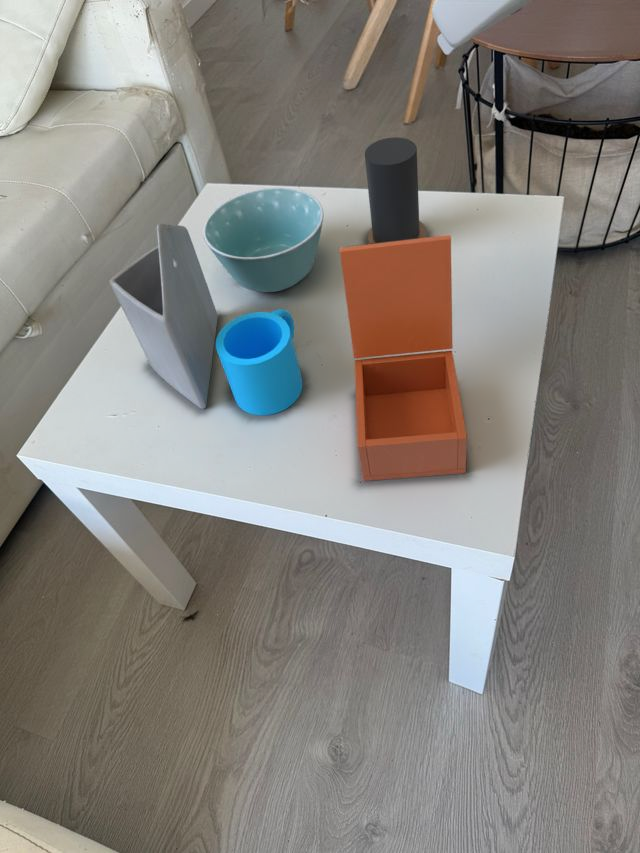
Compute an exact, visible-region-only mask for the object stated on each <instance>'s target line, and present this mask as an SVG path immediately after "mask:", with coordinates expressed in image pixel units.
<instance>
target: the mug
mask: <svg viewBox="0 0 640 853" xmlns="http://www.w3.org/2000/svg"><path fill="white" fill-rule="evenodd" d="M294 334H295V322H294V318H293V316H292V313H291V312H289V311H288V310H287V309H285V308H280V309H274V310H272V311H271V312H266V311H256V312H250V313H249V312H248V313H245V314H242V315H239V316H237V317H235V318H234V319H232V320H230V321H229V322H227V323H225V325H224V326H223V327H222V328H221V329H220V331H219V332H218V335H217V336H216V337H215V349H216V352H217V354H218V358H219V360H220V364H221V365H222V366H221V367H222V369H223V371H224V374H225V376H226V379H227V381H228V385H229V387H230V390H231V392H232V396H233V398H234V401H235V402H236V403H235V404H236V406H238V407H239V408H240V409H241V410H242V411H243V412H246V413H248V414H250V415H254V416H262V417H263V416H269V415H275V414H278V413H280V412H283V411H286V410H287V409H288V408H290V407H291V406H292V405H294V404H295V402H297V400H298V399H299V397H300V396H301V394H302V391H303V388H304V387H303V378H302V373H301V370H300V365H299V361H298V357H297V353H296V349H295V345H294V337H295V335H294Z"/></svg>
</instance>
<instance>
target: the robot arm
mask: <svg viewBox="0 0 640 853" xmlns="http://www.w3.org/2000/svg"><path fill="white" fill-rule="evenodd" d="M533 1H534V0H435V1H433V4H432V8H431V16H432V19H433V21H434V23H435V25H436V27H437V28H438V30H439V32H440V33H439V35H438V36H437V39H436V40H437V44H438V46H439V47H440V49H441V51H442V52H443V54H445V55H446V56H449V55H450V54H452V53H454V52H455V51H457V50H458V49H460V47H461V46H462V45H464V44H466V43H467V42H468V41H470V40H472V39H474V38H475V37H476V36H478V35H480V34H481V33H483V32H484V31H486V30H488V29H489V28H491V27H493V26H494V25H497V24H498V23H499V22H501V21H503V20H505V19H506V18H507V17H509V16H513V15H514V14H516V13H519V12H520V11H521V10H523V9H524V8H525V7H526V6H527V5H529V4H530V3H532V2H533Z"/></svg>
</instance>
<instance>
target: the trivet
mask: <svg viewBox="0 0 640 853" xmlns="http://www.w3.org/2000/svg"><path fill="white" fill-rule="evenodd" d="M419 228H420V233H419V236H418V237H417V238H428V237H427V234H428V233H427V228H426V226H425V224H424V223H423V222H422V221H420V220H419ZM367 242H368V243H367V244H369V243H376V242H375V240H374V239H373V233H372V227H371V228H370V229H369V230H368V233H367Z"/></svg>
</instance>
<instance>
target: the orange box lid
mask: <svg viewBox="0 0 640 853" xmlns="http://www.w3.org/2000/svg"><path fill="white" fill-rule="evenodd" d="M339 256H340V263H341V272H342V280H343V286H344V293H345V302H346V308H347V317H348V323H349V331H350V338H351V346H352V354H353V359H354V360H356V359H366V358H376V357H386V356H396V355H406V354H417V353H427V352H437V351H447V350H452V349H454V348H453V346H454V345H453V293H452V292H453V290H452V289H453V283H452V282H453V281H452V280H453V279H452V278H453V277H452V237H451V235H450V234H446V235H445V234H444V235H438V236H437V235H436V236H429V237H427V238H411V239H403V240H394V241H386V242H378V243H367V244H362V245H353V246H345V247H340V248H339Z"/></svg>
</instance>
